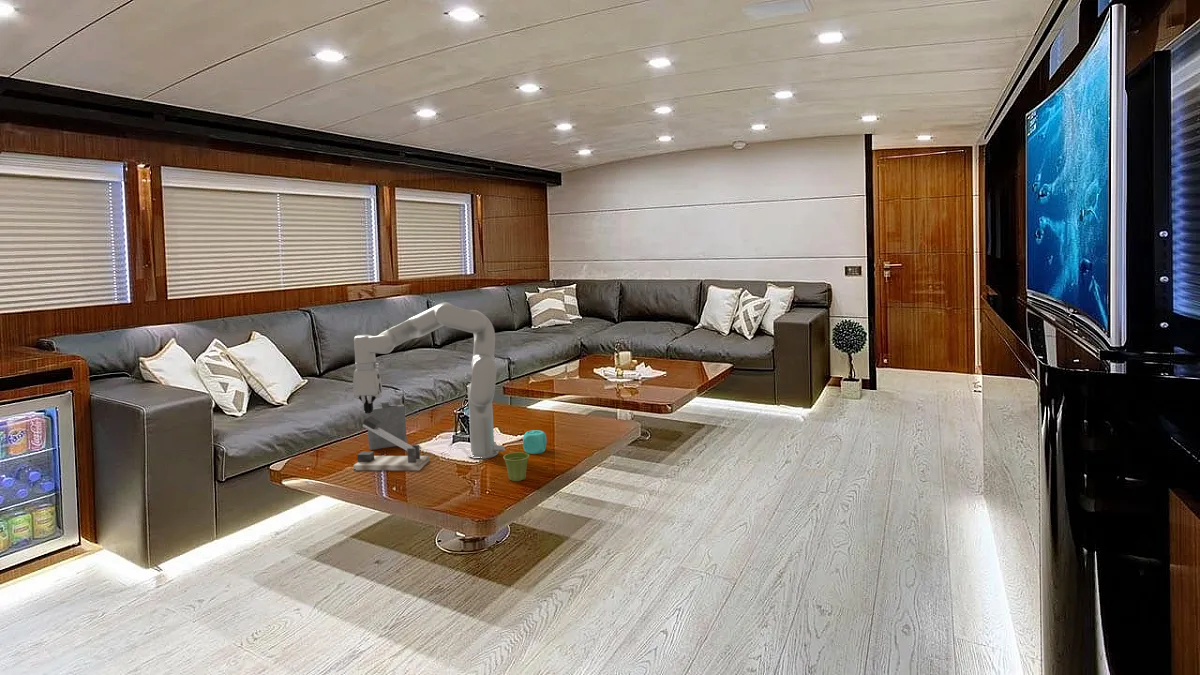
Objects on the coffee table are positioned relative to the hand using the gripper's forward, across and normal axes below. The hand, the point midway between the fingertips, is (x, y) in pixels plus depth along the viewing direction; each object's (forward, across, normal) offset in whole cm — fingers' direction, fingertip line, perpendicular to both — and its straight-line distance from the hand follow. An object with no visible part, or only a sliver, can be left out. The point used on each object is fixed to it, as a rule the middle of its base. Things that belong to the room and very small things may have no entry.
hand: (368, 412), depth 261 cm
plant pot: (+22, -61, +15) cm, 67 cm away
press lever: (+11, -7, 0) cm, 13 cm away
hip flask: (+22, +4, -26) cm, 34 cm away
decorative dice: (+22, -62, -19) cm, 69 cm away
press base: (+21, -8, 0) cm, 23 cm away
